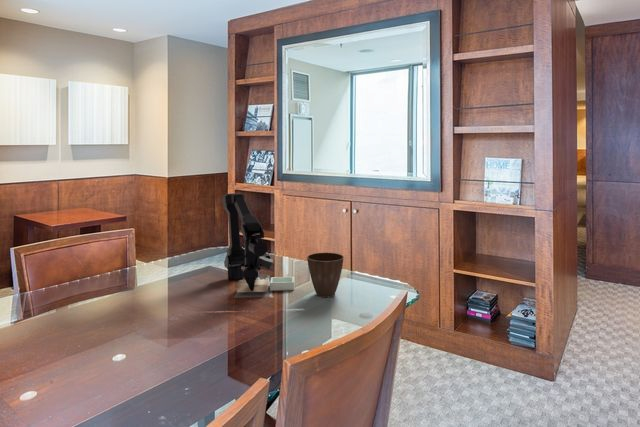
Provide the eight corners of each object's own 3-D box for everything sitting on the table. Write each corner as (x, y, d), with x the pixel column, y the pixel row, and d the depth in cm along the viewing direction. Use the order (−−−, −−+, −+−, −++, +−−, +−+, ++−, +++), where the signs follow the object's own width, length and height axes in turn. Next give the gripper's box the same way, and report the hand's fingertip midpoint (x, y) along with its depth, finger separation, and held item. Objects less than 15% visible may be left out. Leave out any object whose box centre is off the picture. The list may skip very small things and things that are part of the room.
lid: (237, 292, 193) (237, 283, 193) (239, 287, 200) (239, 278, 200) (267, 291, 194) (266, 282, 193) (268, 286, 201) (267, 277, 200)
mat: (234, 299, 191) (234, 297, 191) (238, 289, 203) (237, 288, 203) (269, 298, 192) (269, 296, 192) (270, 289, 204) (270, 287, 204)
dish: (270, 291, 200) (270, 282, 199) (271, 286, 208) (271, 277, 207) (294, 291, 200) (294, 282, 200) (294, 285, 208) (294, 276, 207)
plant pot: (309, 288, 204) (309, 252, 201) (344, 289, 202) (344, 252, 200) (305, 300, 189) (304, 260, 187) (342, 300, 188) (342, 261, 185)
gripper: (270, 256, 186) (271, 294, 188) (272, 245, 204) (273, 280, 207) (241, 256, 185) (242, 295, 188) (246, 246, 204) (247, 281, 206)
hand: (253, 287), depth 197 cm, fingers closed on lid, 7 cm apart
